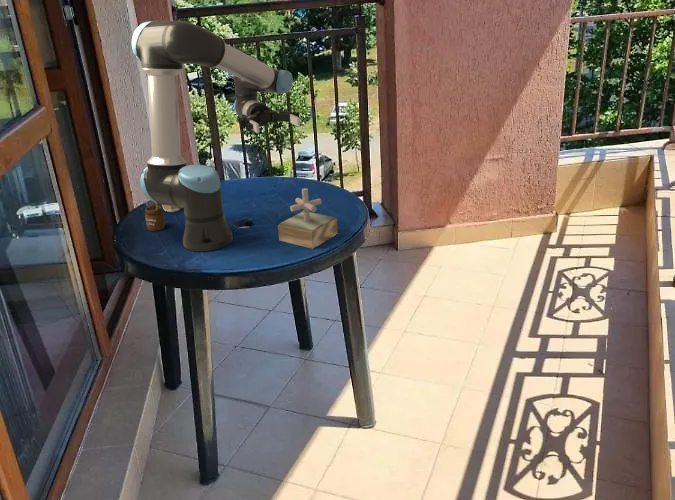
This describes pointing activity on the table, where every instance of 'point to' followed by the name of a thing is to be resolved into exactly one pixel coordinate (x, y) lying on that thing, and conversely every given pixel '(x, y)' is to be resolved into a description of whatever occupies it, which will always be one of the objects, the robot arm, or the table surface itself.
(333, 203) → the table surface
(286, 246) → the table surface
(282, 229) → the lidded wooden box
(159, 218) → the utensil holder
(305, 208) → the pipe connector
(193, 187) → the robot arm
